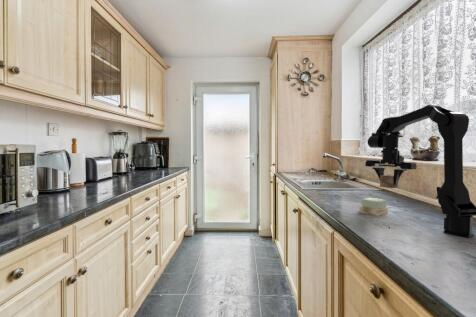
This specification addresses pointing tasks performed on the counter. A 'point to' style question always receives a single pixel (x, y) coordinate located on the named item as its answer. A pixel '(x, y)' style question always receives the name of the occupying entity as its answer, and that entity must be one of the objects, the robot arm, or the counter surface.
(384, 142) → the robot arm
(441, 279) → the counter surface
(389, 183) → the walnut cube
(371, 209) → the beech slab
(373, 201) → the sage slab
